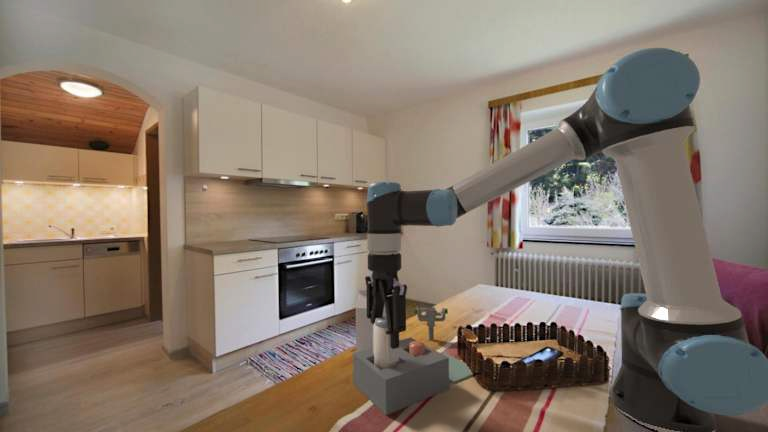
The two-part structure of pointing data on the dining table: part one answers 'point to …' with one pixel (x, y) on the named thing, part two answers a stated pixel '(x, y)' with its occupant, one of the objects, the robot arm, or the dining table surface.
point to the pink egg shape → (416, 348)
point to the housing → (401, 377)
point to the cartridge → (381, 343)
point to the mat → (457, 369)
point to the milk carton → (364, 323)
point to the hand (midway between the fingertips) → (385, 356)
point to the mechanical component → (430, 317)
